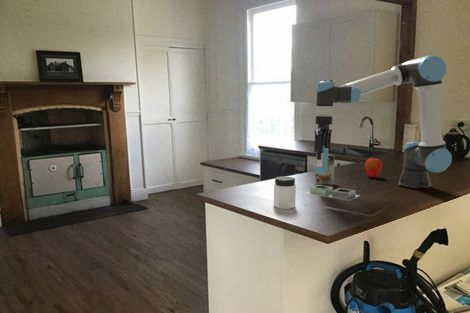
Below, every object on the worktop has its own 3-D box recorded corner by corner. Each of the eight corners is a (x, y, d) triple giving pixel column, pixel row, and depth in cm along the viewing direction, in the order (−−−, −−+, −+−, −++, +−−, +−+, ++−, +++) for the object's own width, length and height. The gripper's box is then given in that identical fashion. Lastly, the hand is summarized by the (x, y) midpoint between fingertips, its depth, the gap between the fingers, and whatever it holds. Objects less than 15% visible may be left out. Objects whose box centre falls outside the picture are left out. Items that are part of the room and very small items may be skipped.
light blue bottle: (327, 173, 180) (328, 145, 178) (323, 174, 177) (324, 146, 175) (319, 172, 182) (320, 145, 180) (315, 173, 179) (316, 145, 177)
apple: (361, 177, 222) (362, 156, 221) (369, 175, 228) (370, 155, 227) (376, 179, 216) (377, 158, 214) (384, 177, 222) (385, 157, 220)
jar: (282, 202, 166) (282, 175, 164) (298, 206, 161) (299, 177, 159) (270, 206, 159) (270, 178, 158) (286, 210, 154) (287, 181, 152)
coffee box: (314, 185, 201) (315, 154, 199) (316, 182, 207) (317, 153, 205) (332, 186, 198) (334, 155, 196) (333, 184, 204) (335, 154, 202)
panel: (360, 197, 175) (360, 190, 175) (350, 202, 166) (350, 194, 166) (316, 190, 189) (316, 183, 188) (304, 195, 180) (304, 187, 179)
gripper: (324, 115, 184) (322, 163, 188) (307, 115, 171) (305, 167, 175) (339, 115, 180) (336, 164, 183) (323, 116, 167) (320, 169, 170)
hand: (321, 165), depth 179 cm, fingers closed on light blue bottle, 4 cm apart
